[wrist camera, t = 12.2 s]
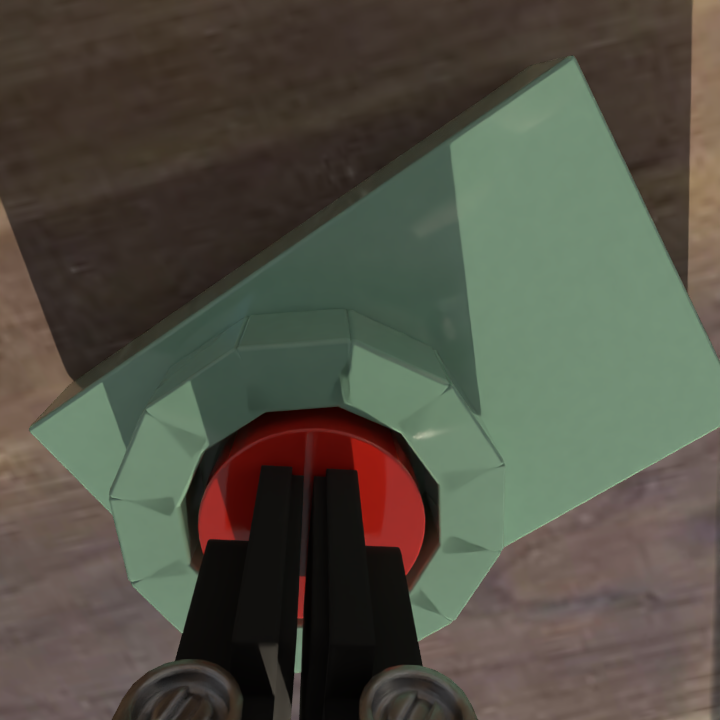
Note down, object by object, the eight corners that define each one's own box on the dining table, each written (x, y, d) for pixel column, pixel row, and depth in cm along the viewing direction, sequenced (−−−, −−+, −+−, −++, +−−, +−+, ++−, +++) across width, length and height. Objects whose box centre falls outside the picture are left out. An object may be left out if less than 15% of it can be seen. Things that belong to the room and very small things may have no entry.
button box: (533, 63, 12) (624, 40, 9) (688, 373, 15) (809, 458, 11) (68, 384, 14) (-23, 479, 10) (278, 610, 17) (266, 750, 13)
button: (340, 347, 12) (343, 385, 10) (449, 497, 13) (467, 552, 11) (170, 457, 12) (148, 508, 11) (291, 588, 14) (287, 653, 12)
